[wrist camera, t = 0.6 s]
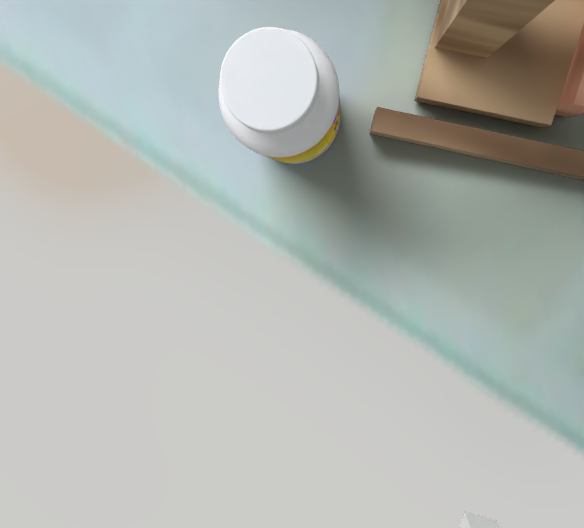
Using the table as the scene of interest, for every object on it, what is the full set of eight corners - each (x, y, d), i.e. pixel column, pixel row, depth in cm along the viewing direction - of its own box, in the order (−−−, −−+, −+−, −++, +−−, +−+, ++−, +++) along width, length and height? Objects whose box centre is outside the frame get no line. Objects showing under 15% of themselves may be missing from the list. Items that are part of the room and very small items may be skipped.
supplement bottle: (351, 148, 34) (357, 128, 21) (267, 175, 35) (225, 172, 22) (325, 57, 33) (314, -20, 20) (239, 88, 34) (179, 33, 22)
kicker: (454, -54, 31) (533, -220, 18) (614, -24, 30) (814, -174, 17) (414, 100, 33) (460, 49, 20) (563, 132, 32) (709, 99, 19)
